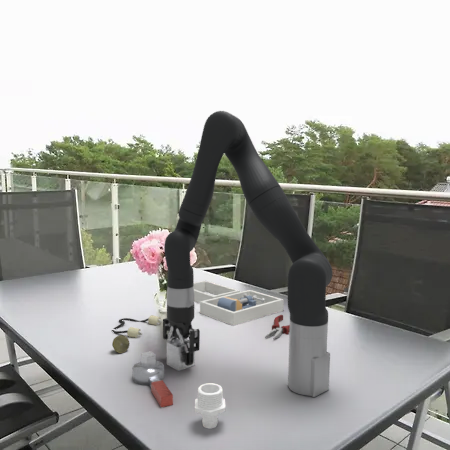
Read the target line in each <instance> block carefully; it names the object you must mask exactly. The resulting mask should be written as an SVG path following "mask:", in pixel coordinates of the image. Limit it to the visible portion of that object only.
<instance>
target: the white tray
mask: <svg viewBox="0 0 450 450" xmlns="http://www.w3.org/2000/svg"><path fill="white" fill-rule="evenodd" d="M245 293H246V294H247V295H250V296H254V295H256V296H257V298H260V299H262V298H264V299H265V301H264V302H261V300H257V299H256V306H253V307H249V308H246V309H242V310H238V311H235V312H233V311H230V310H227V309H224V308H221V307H218V306H217V304H218V301H219V299H220V298H223V297H229V298H232V299H237V300H240V298H243V297H244V296H243V295H244V294H245ZM284 302H285V301H284V299H283V298H280V297H276V296H272V295H269V294H266V293H262V292H259V291H255V290H252V289H248V290H243V291H240V292H238V293H234V294H230V295H226V296H221V297H217V298H213V299H209V300H204V301H200V303H199V314H201V315H203V316H207V317H209V318H212V319H214V320H216V321H220V322H223V323H225V324H228V325H231V326H233V327H234V326H238V325H241V324H245V323H247V322H251V321H255V320H257V319H261V318H265V317H267V316H270V315H274V314H277V313H281V312H283V311H284V304H285V303H284Z"/></svg>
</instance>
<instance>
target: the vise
mask: <svg viewBox="0 0 450 450" xmlns="http://www.w3.org/2000/svg"><path fill="white" fill-rule="evenodd" d="M243 296H244V297H243V298H240V300H237V299H232V298H229V297H223V298H220V299H219V301H218V304H217V306H218V307H221V308H224V309H227V310H230V311H233V312H235V311H238V310H242V309H246V308H249V307H253V306H257V304H256V299H257V300H261V302H264V301H265V299H264V298H262V299H260V298H257V296H256V295H254V296H250V295H247V294H246V293H245V294H244V295H243Z"/></svg>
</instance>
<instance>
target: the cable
mask: <svg viewBox="0 0 450 450" xmlns="http://www.w3.org/2000/svg"><path fill="white" fill-rule="evenodd" d="M122 320H123V321H122ZM129 320H130V321H129ZM125 321H129V322H135V323H137V322H138V323H145V322H148V324H149V325H152V326H159V325H160V324H163V320H162V319H161V317H160V316H157V315H150V316H149V317H148V318H145V319H143V320H137V319H134V318H127V317H123V318H120V319H119V320H118V322H119V323H120V324H118V325H116V326H115V327H114V328H113V329H115V330H112V329H111V332H112V331H113V332H114V334H127V337H128V336H129V338H134V337H135V339H137V338H141V336H143V332H142V331H141V328H138V327H134V326H133V327H132V326H130V327H129V328H128V329H127V330H119V331H117V329H119V328H120V327H123V325H124V326H125V324H126V323H125ZM116 328H117V329H116ZM113 332H112V333H113Z"/></svg>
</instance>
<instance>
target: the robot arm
mask: <svg viewBox="0 0 450 450" xmlns="http://www.w3.org/2000/svg"><path fill="white" fill-rule="evenodd" d="M200 137H201V138H200V142H199V143H200V145H199V148H198V152H197V156H196V159H195V160H196V161H195V163H194V164H195V165H194V167H193V171H192V174H191V177H190V180H189V183H188V186H187V189H186V191H185V194H184V196H183V199H182V201H181V204H180V207H179V210H178V213H177V214H178V220H177V222H176V225H175V229H174V230H173V231H172V232H169V233H168V235H167V236H166V238H165V240H164V245H163V246H164V247H163V248H164V249H163V250H164V258H165V263H166V268H167V290H166V318H163V319H162V338H163V340H166V343H167V342H168V341H171V340H175V339H179V340H180V341H181V344H182V345H184V348H185V351H186V352H185V365H187V366H189V365H192V364H193V362H194V352H195V353H196V352H198V351H200V344H201V342H200V341H201V340H200V337H201V336H200V334H201V331H200V328H197V329H196V328H193V326H192V321H194V319H195V301H194V283H195V282H194V279H195V278H194V275H195V274H194V268H193V266H192V265H191V252H192V251H193V250H194V249H195V246H196V244H197V242H198V239H199V236H200V233H201V229H202V224H203V222H204V220H205V217H206V215H207V213H208V209H209V208H210V205H211V202H212V199H213V195H214V191H215V185H216V183H215V182H216V178H217V173H218V169H219V166H220V163H221V160H222V158H223V157H224V155H225V157H226V158H227V159H228V160H229V162H230V163H231V165H232V166H233V168H234V170H235V172H236V175H237V177H238V180H239V184H240V187H241V190H242V193H243V196H244V198H245V200H246V203H247V204H248V206H249V208H250V210H251V211H252V213H253V215H254V216H255V218H256V219H257V221H258V222H259V223H260V225H261V226H262V227H263V228H264V229H265V230H266V231H267V232H268V233H269V234H270V235H272V236H273V237H274V238H275V240H276V241H278V242H279V243H280V245H281V246H282V247H283V249H284V250H285V251H286V253H287V255H288V257H289V259H290V261H291V263H292V264H291V266H290V268H289V269H288V275H287V309H288V311H289V325H290V331H289V334H288V335H289V338H288V341H289V342H288V367H287V368H288V372H287V373H288V377H287V387H288V388H289V390H290V391H292V392H294V393H295V394H298V395H302V396H310V397H312V398H315V397H317V396H319V395H321V394H323V393H325V392H327V391H329V389H330V370H331V369H330V368H331V366H330V365H331V353H330V352H329V351H328V332H329V331H328V330H329V327H328V326H329V312H328V309H327V307H326V305H327V304H326V302H327V300H326V297H327V296H326V295H327V287H328V285H329V284H330V283H331V281H332V278H333V267H332V265H331V262H329V259H328V258H327V257H326V256H325V255H324V253H323V252H322V250H321V249H320V248H319V246H318V245H317V244H316V242H315V241H314V240H313V239H312V238H311V236H310V235H309V233H308V231H307V230H306V228H305V227H304V225H303V223H302V221H301V219H300V217H299V216H298V213H297V212H296V211H295V208H294V207H293V205H292V204H291V202H290V199H288V197H287V195H286V193H285V192H284V189H283V188H282V187H281V185H280V183H279V182H278V181H277V179H276V178H275V176H274V175H273V173H272V172H271V170H270V169H269V168H268V166H267V164H266V163H265V162H264V161H263V159H262V158H261V156H260V154H259V153H258V151H257V149H256V148H255V144H254V142H253V141H252V138H251V137H250V135H249V132H248V129H247V128H246V127H245V124H244V123H243V122H242V120H241V119H239V118H238V116H235V115H233V114H232V113H230V112H228V111H225V110H218V111H217V110H216V111H215V112H213V113H212V114H210V115H209V116H208V117H207V118H206V120H205V122H204V125H203V129H202V133H201V136H200ZM167 332H168V333H167ZM184 339H188V340H184ZM188 343H189V344H190V347H188ZM194 344H195V346H194Z"/></svg>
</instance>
